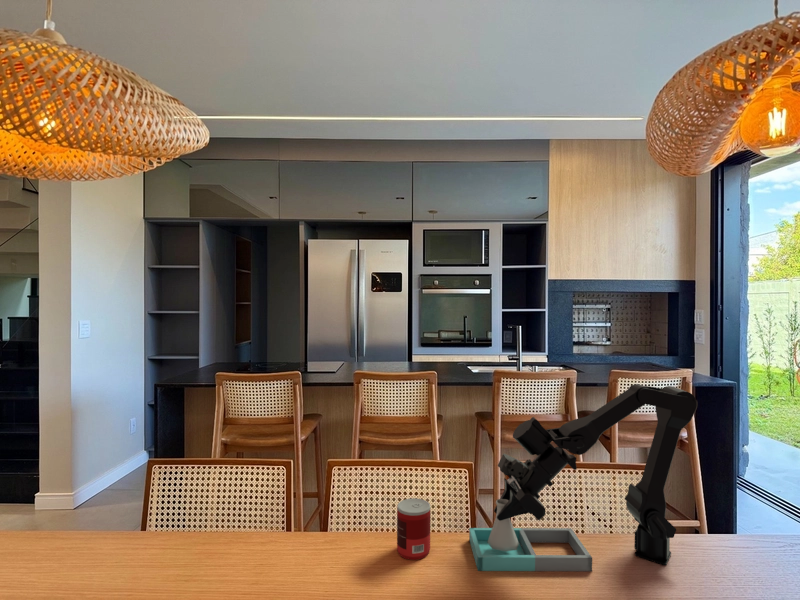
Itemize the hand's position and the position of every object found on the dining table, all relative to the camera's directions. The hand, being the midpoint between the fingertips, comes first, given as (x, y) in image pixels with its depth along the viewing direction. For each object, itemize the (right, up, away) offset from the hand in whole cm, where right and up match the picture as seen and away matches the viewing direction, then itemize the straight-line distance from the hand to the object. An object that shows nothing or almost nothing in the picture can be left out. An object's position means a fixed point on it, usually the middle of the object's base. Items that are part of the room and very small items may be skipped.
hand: (496, 515), depth 112 cm
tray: (+7, -9, 0) cm, 12 cm away
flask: (+2, -7, 0) cm, 7 cm away
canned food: (-19, -9, +1) cm, 21 cm away
